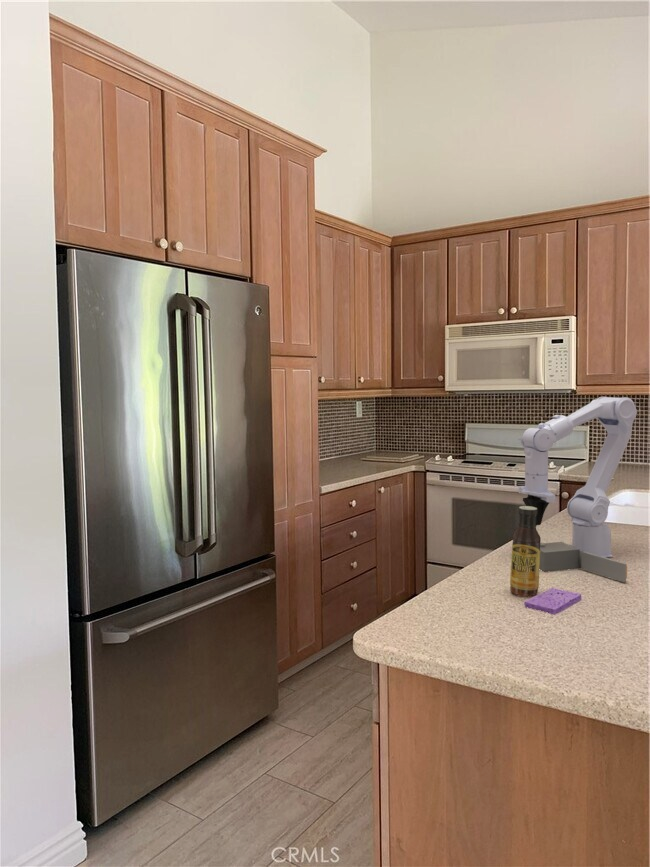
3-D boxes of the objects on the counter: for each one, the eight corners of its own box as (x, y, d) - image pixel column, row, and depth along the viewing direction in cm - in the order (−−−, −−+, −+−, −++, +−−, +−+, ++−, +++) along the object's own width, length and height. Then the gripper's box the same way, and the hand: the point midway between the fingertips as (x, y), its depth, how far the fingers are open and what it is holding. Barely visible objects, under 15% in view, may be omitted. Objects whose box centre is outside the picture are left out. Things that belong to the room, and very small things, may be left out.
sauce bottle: (507, 595, 148) (507, 508, 146) (513, 587, 153) (513, 503, 152) (537, 599, 145) (538, 511, 143) (542, 591, 150) (543, 505, 149)
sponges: (581, 601, 144) (581, 593, 144) (554, 617, 136) (554, 608, 136) (551, 594, 150) (551, 586, 149) (523, 609, 141) (523, 600, 141)
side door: (578, 568, 167) (578, 551, 166) (582, 567, 167) (582, 550, 167) (623, 582, 155) (624, 564, 154) (627, 581, 155) (628, 563, 155)
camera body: (561, 560, 175) (561, 539, 174) (579, 568, 167) (579, 547, 167) (525, 563, 172) (525, 542, 172) (542, 572, 165) (542, 550, 164)
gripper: (508, 470, 178) (508, 519, 179) (537, 478, 164) (537, 531, 165) (532, 469, 180) (531, 518, 181) (562, 477, 166) (562, 529, 167)
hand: (535, 524), depth 173 cm, fingers closed
